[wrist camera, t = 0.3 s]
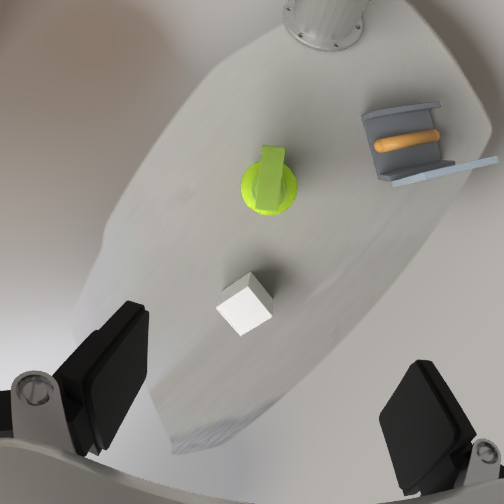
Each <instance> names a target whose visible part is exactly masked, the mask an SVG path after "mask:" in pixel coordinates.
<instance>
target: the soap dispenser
mask: <svg viewBox="0 0 504 504" xmlns="http://www.w3.org/2000/svg"><path fill="white" fill-rule="evenodd" d="M284 156H285V148H283V147H275V146H267V145H263V146H262V153H261V160H260V161H259V162H256V163H254V164H253V165H252V166H250V167H249V168H248V169H247V171H246V172H245V174H244V175H243V178H242V181H241V193H242V197H243V199H244V201H245V203H246V204H247V205H248V206H249V207H250V208H251V209H252V210H253V211H255V212H257V213H259V214H263V215H276V214H279V213H282V212H283V211H285V210H286V209H288V208H289V207H290V206H291V205H292V203H293V202H294V200H295V197H296V194H297V181H296V178H295V175H294V174H293V172H292V171H291V169H290V168H289V167H288V166H286V165H285V164H284Z"/></svg>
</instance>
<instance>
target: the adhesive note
mask: <svg viewBox="0 0 504 504" xmlns="http://www.w3.org/2000/svg"><path fill="white" fill-rule="evenodd" d="M216 309H217V310H218V311H219V312H220V313H221V314H222V316H223V317H224V318H225V319H226V320H227V321H228V322H229V324H230V325H231V326H232V327H233V328H234V329H235V330H236V331H237V333H238V334H239V335H240V336H241V335H243V334H245V333H246V332H248V331H250V330H251V329H253V328H255V327H256V326H258V325H260V324H261V323H263V322H264V321H266V320H268V319H269V318H271V317H273V299H272V297H271V296H270V295H269V294H268V292H267V291H266V290H265V289H264V287H263V286H262V285H261V284H260V282H259V281H258V280H257V279H256V277H255V276H254V275H253V274H252V272H249V273H248V274H246V275H245V276H243V277H242V278H240V279H239V280H237V281H236V282H235V283H233V284H232V285H230V286H229V287H227V288H226V289H224V290H223V291H222V292H221V295H220V297H219V300H218V302H217V305H216Z"/></svg>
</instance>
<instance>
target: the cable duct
mask: <svg viewBox="0 0 504 504" xmlns="http://www.w3.org/2000/svg"><path fill="white" fill-rule="evenodd" d="M437 107H441V105H440V102H439V101H438V102H430V103H422V104H414V105H407V106H400V107H394V108H388V109H382V110H376V111H371V112H369V113H367V114H365V115H363V116H361V118H362V121H363V124H364V128H365V131H366V134H367V138H368V141H369V145H370V148H371V152H372V156H373V159H374V163H375V167H376V171H377V175H378V179H379V180H385V181H390V182H391V181H395V180H399V179H403V178H406V177H409V176H413V175H416V174H420V173H423V172H427V171H432V170H436V169H440V168H445V167H449V166H453V165H455V161H449V160H442V159H441V155H440V150H439V146H438V142H437V141H438V140H439V138H440V134H439V132H438V131H437V130H435V129H434V126H433V123H432V119H431V115H430V112H429V110H430V109H434V108H437Z"/></svg>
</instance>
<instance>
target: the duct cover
mask: <svg viewBox="0 0 504 504" xmlns="http://www.w3.org/2000/svg"><path fill="white" fill-rule="evenodd" d="M494 163H499V160H498V156H495V157H490V158H485V159H481V160H476V161H471V162H467V163H462V164H458V165H453V166H449V167H445V168H440V169H436V170H432V171H427V172H423V173H420V174H416V175H413V176H409V177H406V178H403V179H399V180H396V181H392V186H393V187H397V186H401V185H406V184H410V183H414V182H419V181H423V180H427V179H431V178H435V177H439V176H444V175H448V174H452V173H456V172H460V171H464V170H469V169H473V168H477V167H481V166H486V165H490V164H494Z"/></svg>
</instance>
